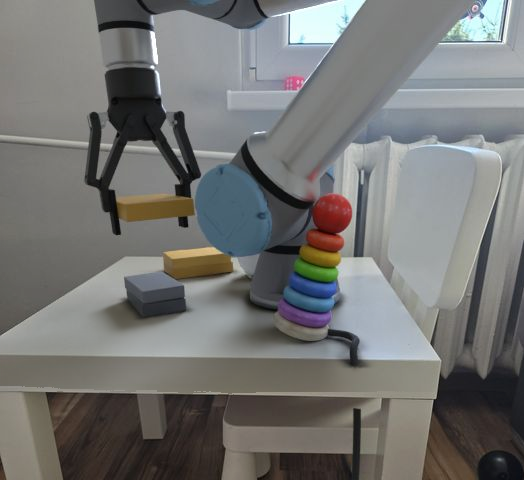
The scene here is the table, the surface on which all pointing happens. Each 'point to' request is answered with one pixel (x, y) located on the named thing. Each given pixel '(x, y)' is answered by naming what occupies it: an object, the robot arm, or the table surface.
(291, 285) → the stacking toy
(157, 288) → the grey pile
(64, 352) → the table surface
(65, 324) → the table surface
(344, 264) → the table surface
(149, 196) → the mustard block
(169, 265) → the mustard pile
